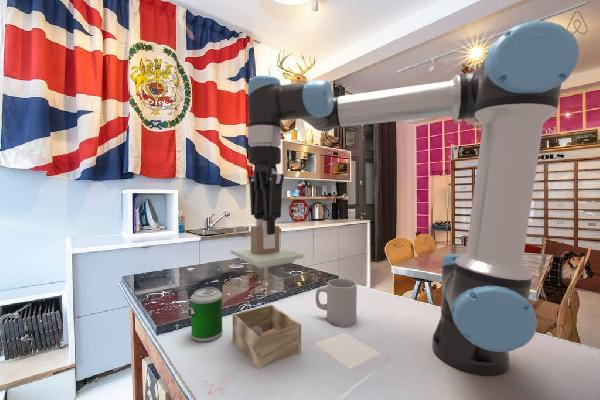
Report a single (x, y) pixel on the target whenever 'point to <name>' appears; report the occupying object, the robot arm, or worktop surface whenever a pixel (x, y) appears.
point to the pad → (347, 350)
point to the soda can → (206, 314)
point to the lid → (265, 251)
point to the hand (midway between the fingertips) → (265, 246)
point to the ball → (257, 330)
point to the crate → (266, 335)
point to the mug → (339, 302)
